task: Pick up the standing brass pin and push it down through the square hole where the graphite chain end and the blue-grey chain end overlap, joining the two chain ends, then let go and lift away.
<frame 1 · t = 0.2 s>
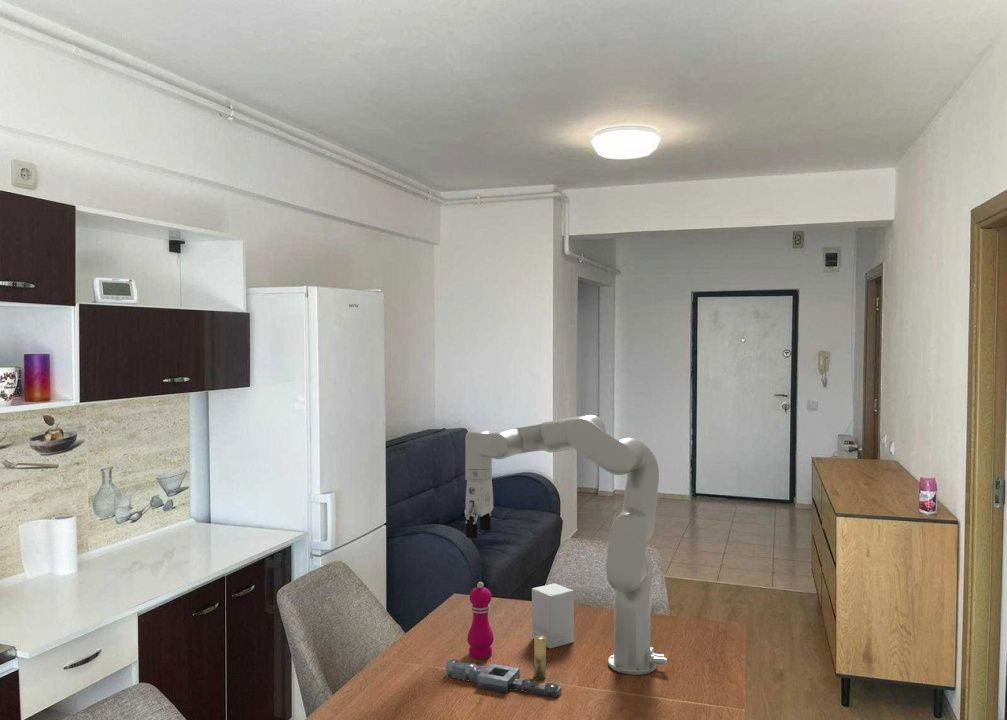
hand: (478, 533, 222), 31 cm above the table, tool pointing down, fingers open, 9 cm apart
pepper mill: (480, 655, 212), on the table
supplement box: (552, 641, 222), on the table
brass pin: (540, 676, 198), on the table
chain ends: (498, 683, 194), on the table
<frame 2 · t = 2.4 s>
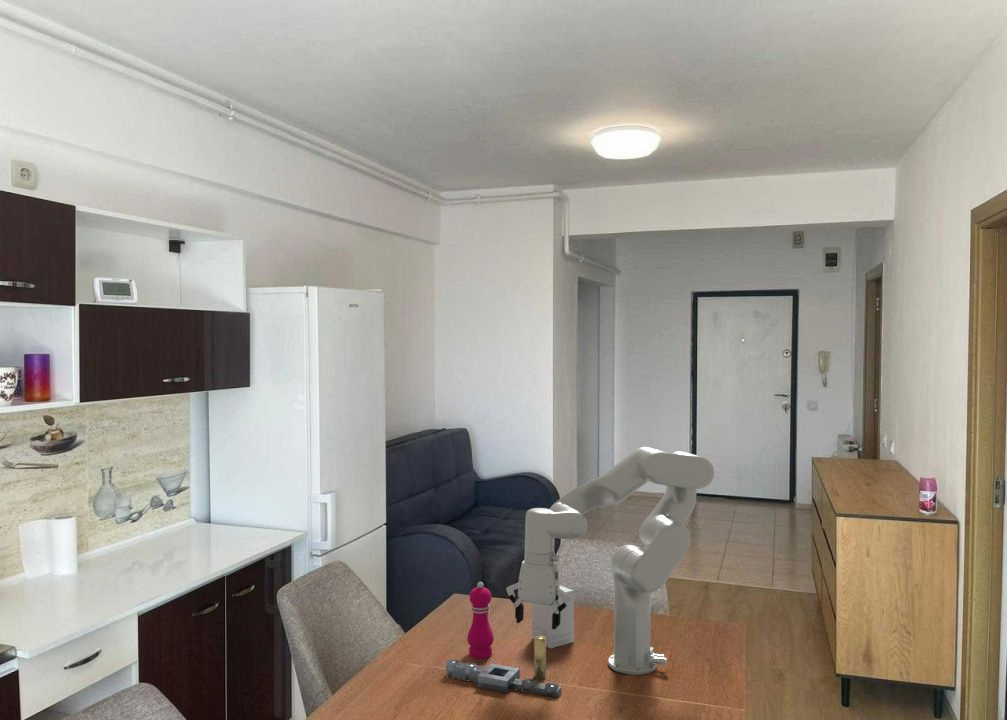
hand: (537, 624, 198), 13 cm above the table, tool pointing down, fingers open, 9 cm apart
nothing on the table moved.
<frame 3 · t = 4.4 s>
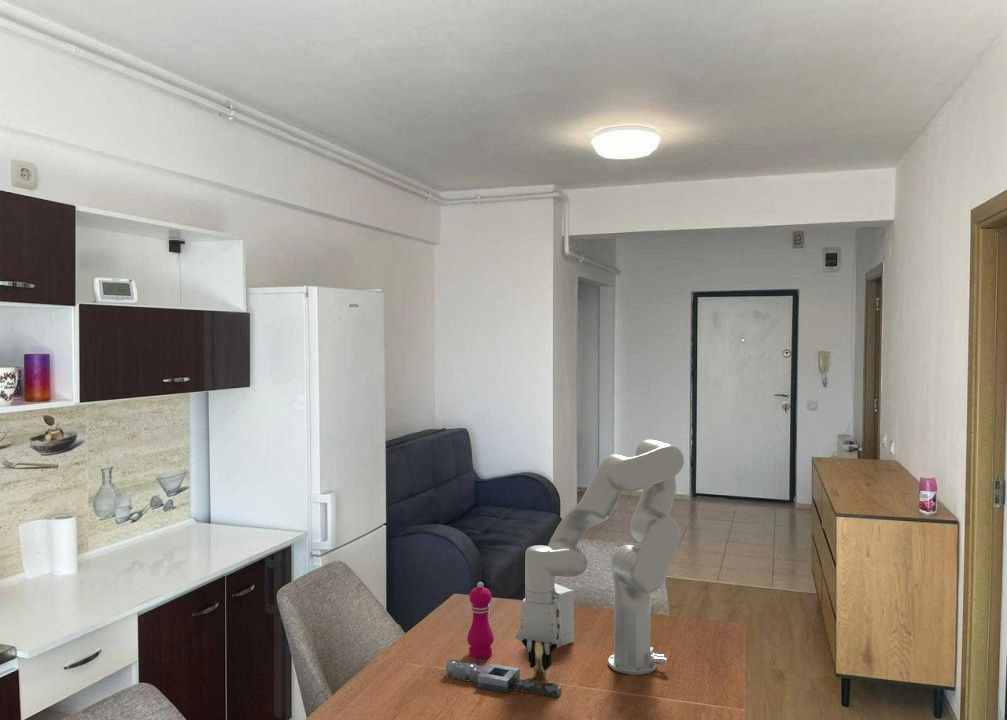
hand: (540, 666, 198), 3 cm above the table, tool pointing down, fingers closed on brass pin, 3 cm apart
brass pin: (540, 676, 198), on the table, touching gripper
everything else where it was.
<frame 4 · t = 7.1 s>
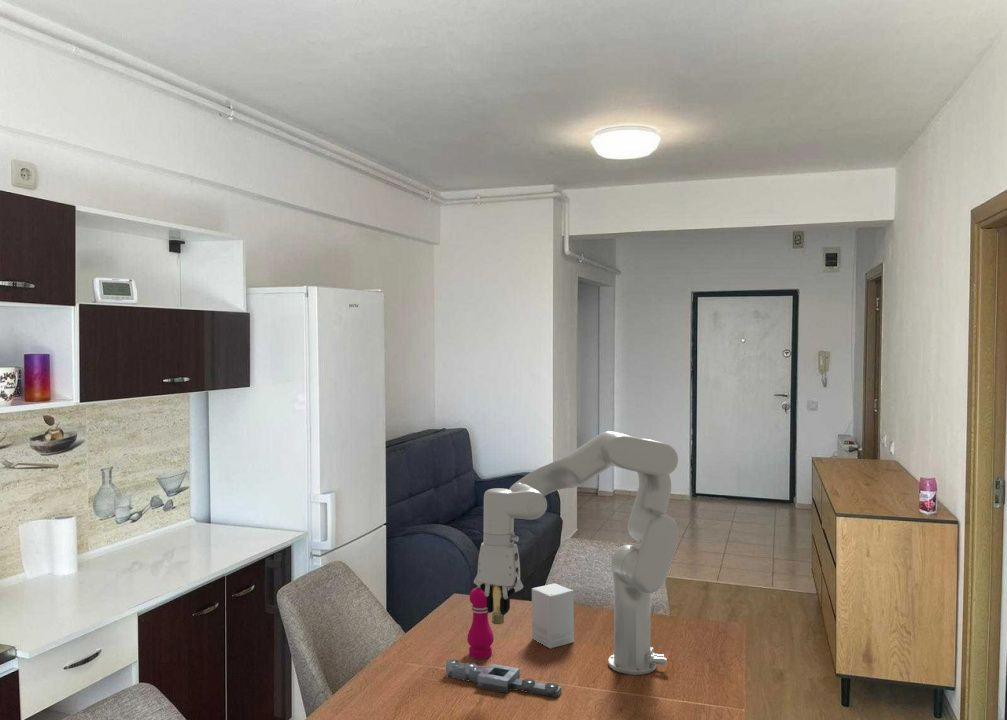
hand: (498, 611, 193), 18 cm above the table, tool pointing down, fingers closed on brass pin, 3 cm apart
brass pin: (497, 622, 193), point 16 cm above the table, touching gripper
everything else where it was.
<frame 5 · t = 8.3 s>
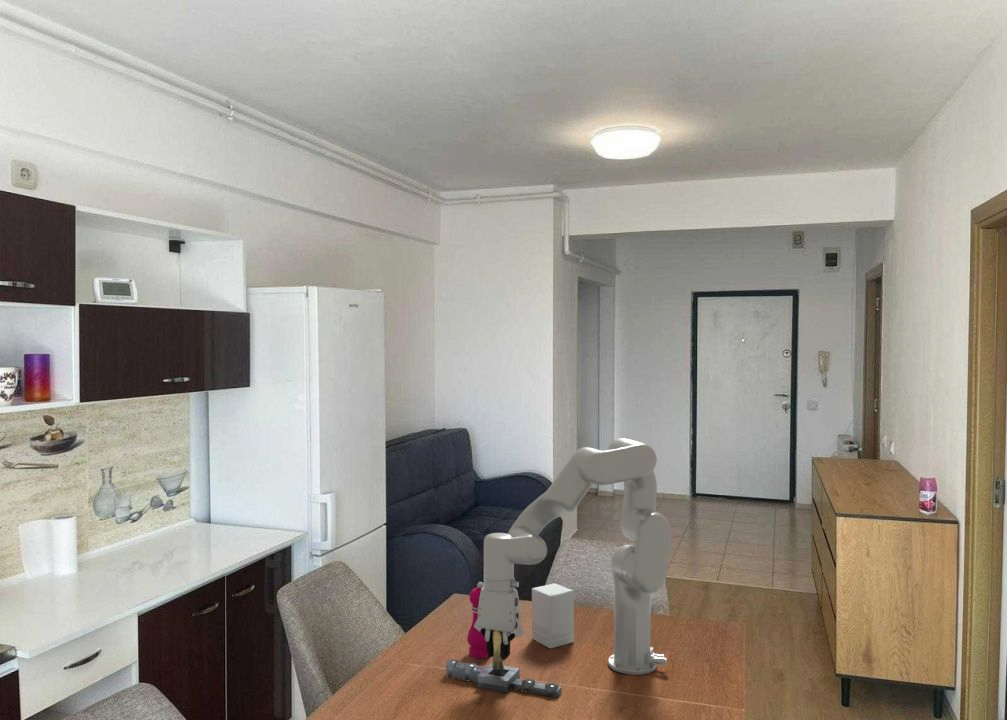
hand: (498, 656, 194), 7 cm above the table, tool pointing down, fingers closed on brass pin, 3 cm apart
brass pin: (498, 667, 194), point 4 cm above the table, touching gripper
everything else where it was.
when the fingers open (4 cm above the table, at t = 9.6 s): brass pin stays where it is, resting in chain ends.
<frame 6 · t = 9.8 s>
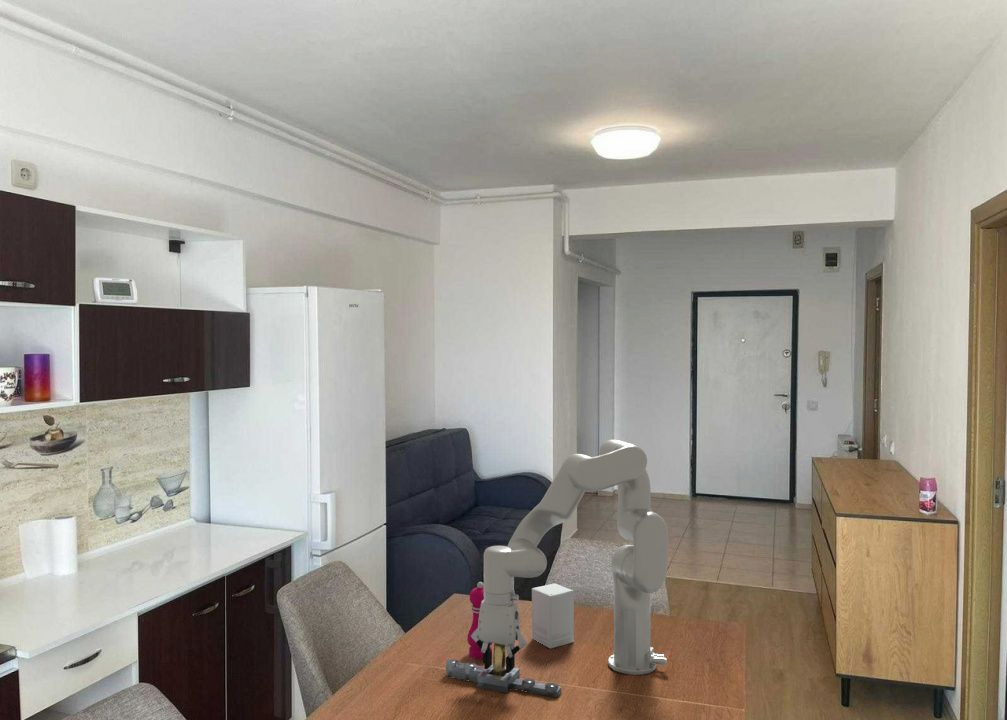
hand: (498, 668, 194), 4 cm above the table, tool pointing down, fingers open, 5 cm apart
brass pin: (498, 683, 194), resting in chain ends
everything else where it was.
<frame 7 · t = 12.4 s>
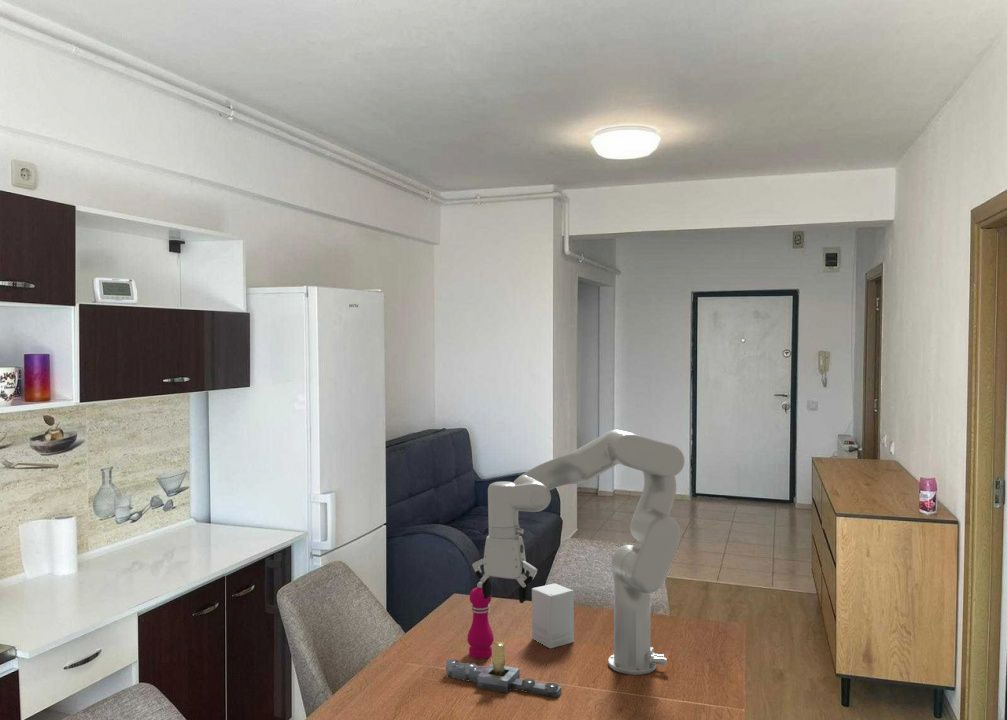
hand: (505, 599, 195), 21 cm above the table, tool pointing down, fingers open, 9 cm apart
nothing on the table moved.
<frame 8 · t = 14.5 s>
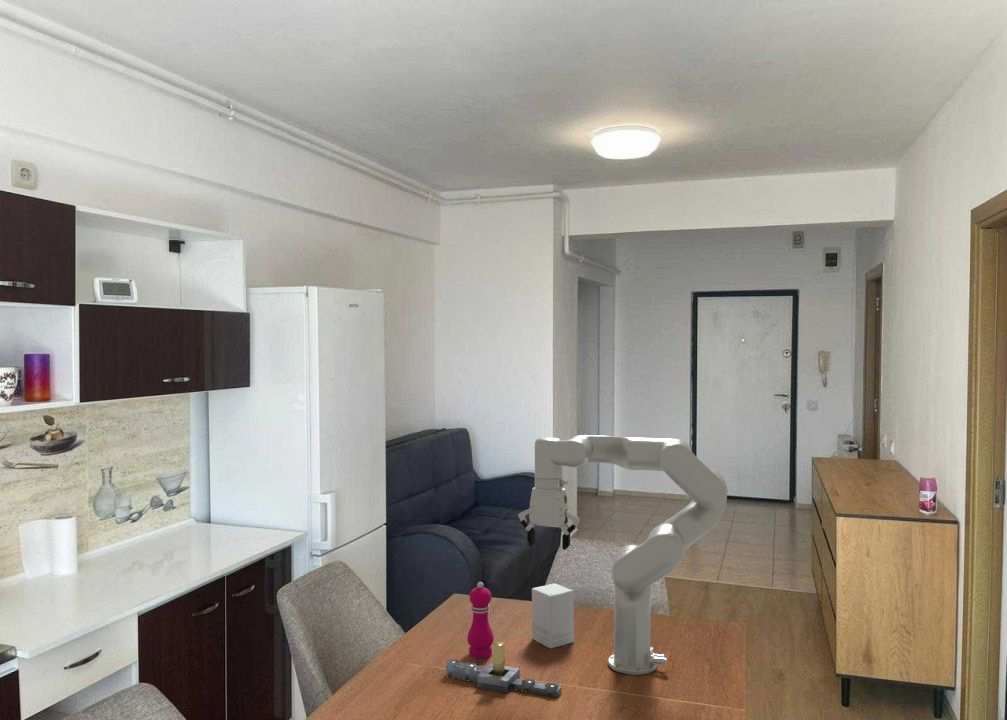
hand: (548, 546, 209), 30 cm above the table, tool pointing down, fingers open, 9 cm apart
nothing on the table moved.
at the end: brass pin 0.0 cm off-centre on the chain ends, point 0.0 cm above the chain ends's base; brass pin tilted 0°; the gripper is holding nothing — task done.
